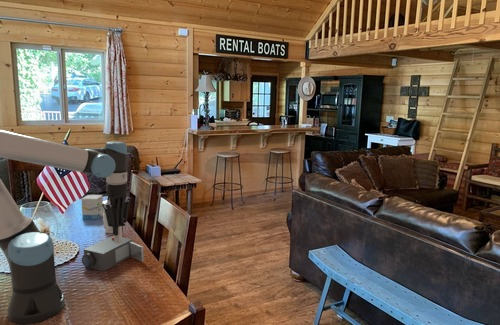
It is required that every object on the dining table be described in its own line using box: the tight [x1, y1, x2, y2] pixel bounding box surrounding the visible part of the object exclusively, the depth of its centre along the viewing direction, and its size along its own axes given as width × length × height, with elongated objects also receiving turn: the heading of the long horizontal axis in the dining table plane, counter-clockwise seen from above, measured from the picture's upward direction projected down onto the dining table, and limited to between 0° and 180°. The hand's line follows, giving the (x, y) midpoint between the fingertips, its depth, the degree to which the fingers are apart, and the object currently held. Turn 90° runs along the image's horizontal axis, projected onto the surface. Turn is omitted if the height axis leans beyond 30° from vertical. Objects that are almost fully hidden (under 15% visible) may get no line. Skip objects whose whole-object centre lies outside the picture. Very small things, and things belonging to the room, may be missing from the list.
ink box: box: [80, 194, 104, 220], centre depth 201 cm, size 8×8×12 cm
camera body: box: [81, 235, 134, 272], centre depth 147 cm, size 18×10×8 cm, turn 156°
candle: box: [102, 199, 113, 234], centre depth 180 cm, size 7×7×15 cm
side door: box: [129, 240, 145, 263], centre depth 149 cm, size 9×1×6 cm, turn 52°
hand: (118, 242), depth 141 cm, fingers closed
